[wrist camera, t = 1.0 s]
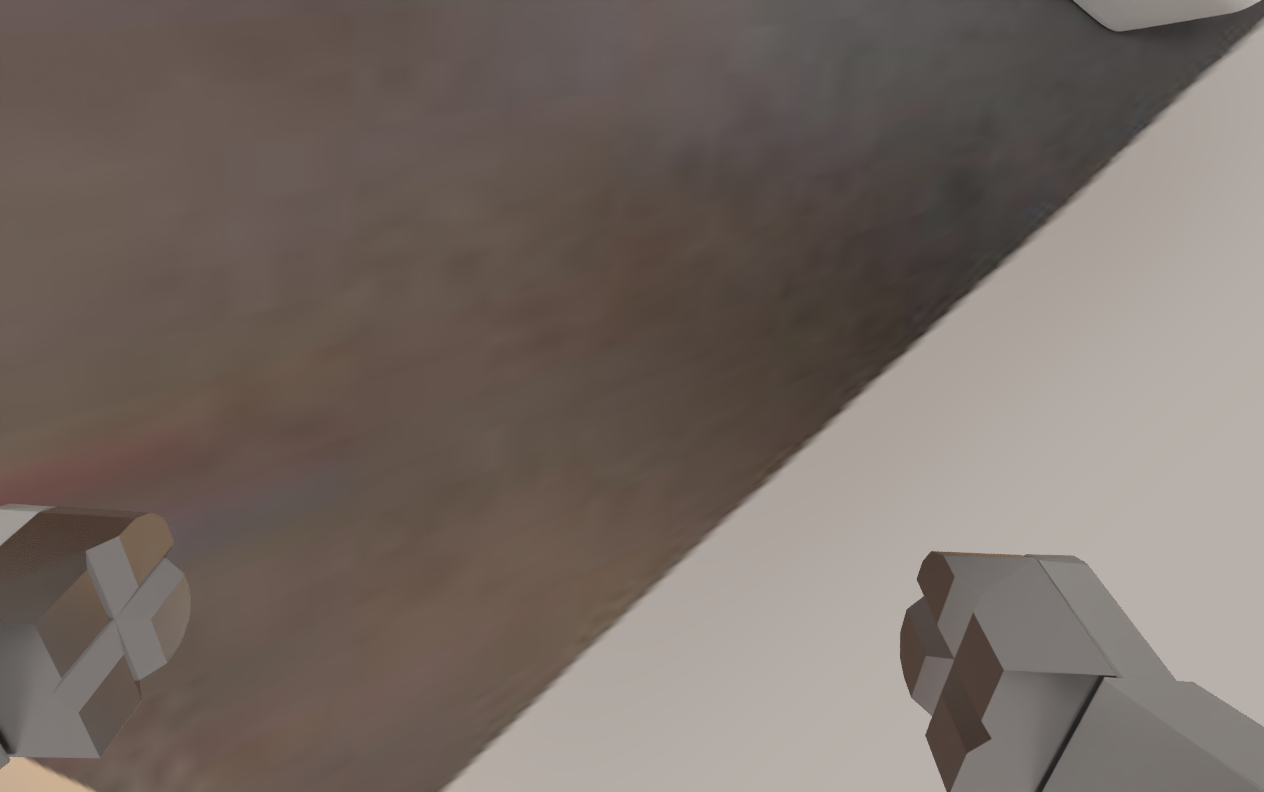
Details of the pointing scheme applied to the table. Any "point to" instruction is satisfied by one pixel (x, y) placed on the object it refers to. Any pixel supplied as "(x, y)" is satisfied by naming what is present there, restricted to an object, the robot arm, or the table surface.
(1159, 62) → the table surface
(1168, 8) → the photo printer
